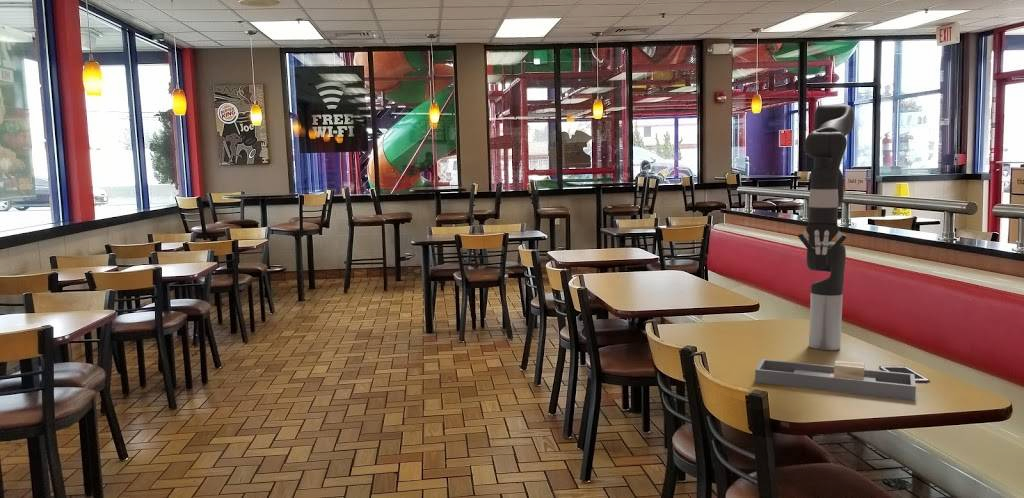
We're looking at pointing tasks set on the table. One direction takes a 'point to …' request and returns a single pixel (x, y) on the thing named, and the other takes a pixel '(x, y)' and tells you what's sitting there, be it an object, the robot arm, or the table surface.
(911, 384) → the channel
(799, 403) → the table surface
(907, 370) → the cell phone
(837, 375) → the birch block
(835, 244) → the robot arm
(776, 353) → the table surface
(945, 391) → the table surface
